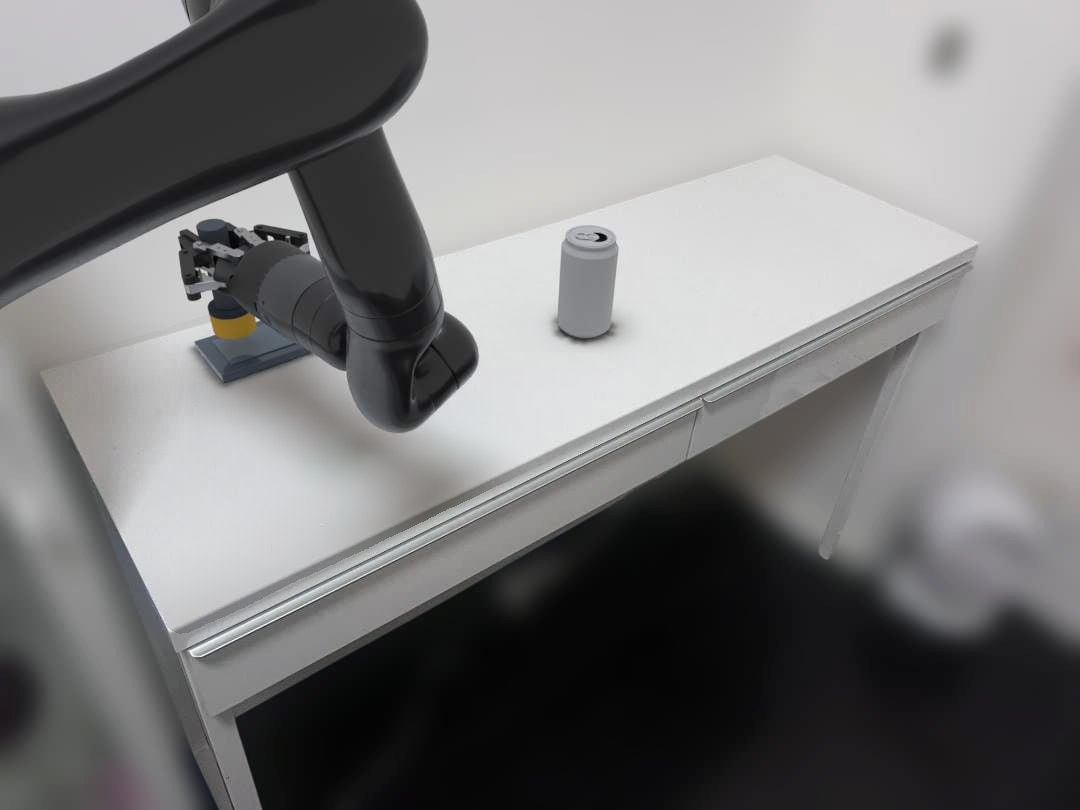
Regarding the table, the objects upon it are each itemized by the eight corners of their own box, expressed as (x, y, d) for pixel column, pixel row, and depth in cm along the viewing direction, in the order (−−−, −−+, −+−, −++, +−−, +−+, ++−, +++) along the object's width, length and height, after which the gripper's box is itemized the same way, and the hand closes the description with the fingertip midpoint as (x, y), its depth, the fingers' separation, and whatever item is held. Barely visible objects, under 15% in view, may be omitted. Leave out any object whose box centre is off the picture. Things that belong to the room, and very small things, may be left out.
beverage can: (611, 343, 94) (622, 249, 87) (556, 340, 94) (562, 246, 86) (608, 314, 99) (618, 223, 92) (556, 312, 99) (561, 221, 91)
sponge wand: (210, 340, 85) (183, 235, 77) (216, 318, 88) (191, 215, 81) (254, 337, 85) (231, 233, 78) (258, 316, 89) (237, 214, 81)
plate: (223, 383, 85) (221, 374, 84) (195, 348, 89) (193, 340, 89) (344, 341, 92) (343, 332, 91) (312, 311, 97) (311, 303, 96)
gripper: (355, 233, 75) (254, 179, 84) (217, 285, 67) (121, 219, 76) (364, 303, 79) (266, 245, 88) (235, 360, 71) (142, 289, 80)
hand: (200, 233), depth 82 cm, fingers closed on sponge wand, 3 cm apart
